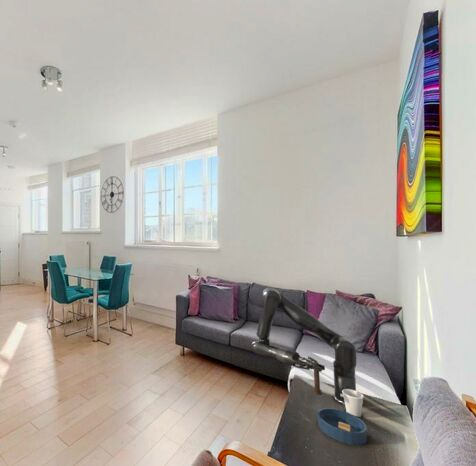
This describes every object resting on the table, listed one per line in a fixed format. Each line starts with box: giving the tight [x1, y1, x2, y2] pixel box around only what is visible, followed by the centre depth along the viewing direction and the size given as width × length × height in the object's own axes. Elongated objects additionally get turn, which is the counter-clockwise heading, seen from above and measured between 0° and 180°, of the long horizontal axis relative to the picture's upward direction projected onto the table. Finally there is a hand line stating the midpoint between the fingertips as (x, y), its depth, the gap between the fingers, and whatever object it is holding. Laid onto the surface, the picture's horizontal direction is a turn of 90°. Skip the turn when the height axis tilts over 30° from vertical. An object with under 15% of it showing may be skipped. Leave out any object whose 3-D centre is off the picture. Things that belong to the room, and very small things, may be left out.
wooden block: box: [338, 422, 351, 432], centre depth 122 cm, size 4×4×4 cm
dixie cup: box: [342, 389, 365, 418], centre depth 138 cm, size 8×8×10 cm
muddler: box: [312, 361, 323, 396], centre depth 138 cm, size 4×4×15 cm
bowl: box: [317, 407, 368, 446], centre depth 125 cm, size 17×17×6 cm
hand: (322, 368), depth 136 cm, fingers closed on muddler, 2 cm apart
